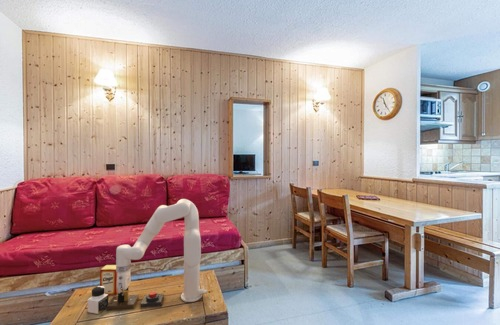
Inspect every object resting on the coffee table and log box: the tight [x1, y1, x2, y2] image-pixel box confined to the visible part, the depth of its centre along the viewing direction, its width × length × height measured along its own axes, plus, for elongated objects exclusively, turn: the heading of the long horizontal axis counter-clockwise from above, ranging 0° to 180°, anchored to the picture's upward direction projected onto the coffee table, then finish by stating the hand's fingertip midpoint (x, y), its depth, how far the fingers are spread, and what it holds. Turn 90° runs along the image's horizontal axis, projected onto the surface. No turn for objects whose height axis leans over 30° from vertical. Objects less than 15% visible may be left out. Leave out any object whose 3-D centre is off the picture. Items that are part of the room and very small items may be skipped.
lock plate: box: [105, 294, 140, 312], centre depth 142 cm, size 14×10×3 cm
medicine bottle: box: [87, 285, 109, 315], centre depth 137 cm, size 7×7×12 cm
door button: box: [148, 291, 157, 298], centre depth 145 cm, size 4×4×2 cm
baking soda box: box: [99, 264, 118, 296], centre depth 155 cm, size 10×6×16 cm
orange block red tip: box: [121, 289, 130, 301], centre depth 142 cm, size 6×2×5 cm, turn 100°
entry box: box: [140, 292, 165, 308], centre depth 145 cm, size 11×9×4 cm
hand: (123, 298), depth 142 cm, fingers open, 6 cm apart
